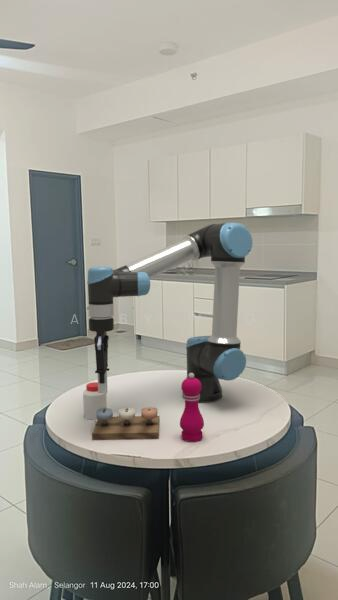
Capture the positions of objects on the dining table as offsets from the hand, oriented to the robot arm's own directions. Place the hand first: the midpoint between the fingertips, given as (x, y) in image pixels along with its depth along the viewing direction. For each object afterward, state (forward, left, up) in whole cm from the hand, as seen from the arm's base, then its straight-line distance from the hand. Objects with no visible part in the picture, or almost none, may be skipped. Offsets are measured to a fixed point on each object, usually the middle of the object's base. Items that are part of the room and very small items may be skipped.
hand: (102, 392), depth 151 cm
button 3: (0, 0, -10) cm, 10 cm away
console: (-7, 0, -13) cm, 14 cm away
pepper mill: (-27, +6, -13) cm, 31 cm away
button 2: (-7, 0, -10) cm, 13 cm away
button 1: (-14, 0, -10) cm, 18 cm away
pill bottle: (+5, -14, -13) cm, 19 cm away
